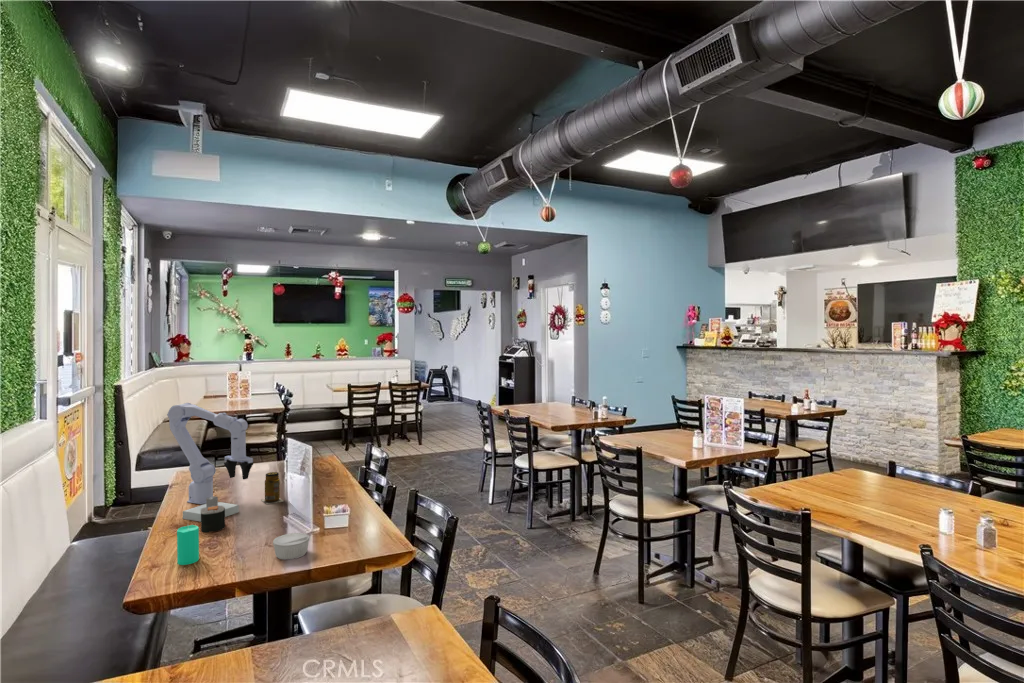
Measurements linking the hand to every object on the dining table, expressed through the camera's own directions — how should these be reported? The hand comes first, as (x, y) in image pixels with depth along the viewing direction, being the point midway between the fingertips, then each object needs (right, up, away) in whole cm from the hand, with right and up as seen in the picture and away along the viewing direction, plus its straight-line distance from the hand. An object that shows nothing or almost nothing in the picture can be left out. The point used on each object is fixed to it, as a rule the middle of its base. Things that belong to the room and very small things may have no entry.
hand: (238, 478), depth 241 cm
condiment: (+15, -10, 0) cm, 18 cm away
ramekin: (+47, -10, -60) cm, 77 cm away
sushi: (+8, -10, -35) cm, 37 cm away
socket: (-1, -10, -20) cm, 22 cm away
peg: (-1, -10, -19) cm, 22 cm away
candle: (+16, -11, -65) cm, 68 cm away
